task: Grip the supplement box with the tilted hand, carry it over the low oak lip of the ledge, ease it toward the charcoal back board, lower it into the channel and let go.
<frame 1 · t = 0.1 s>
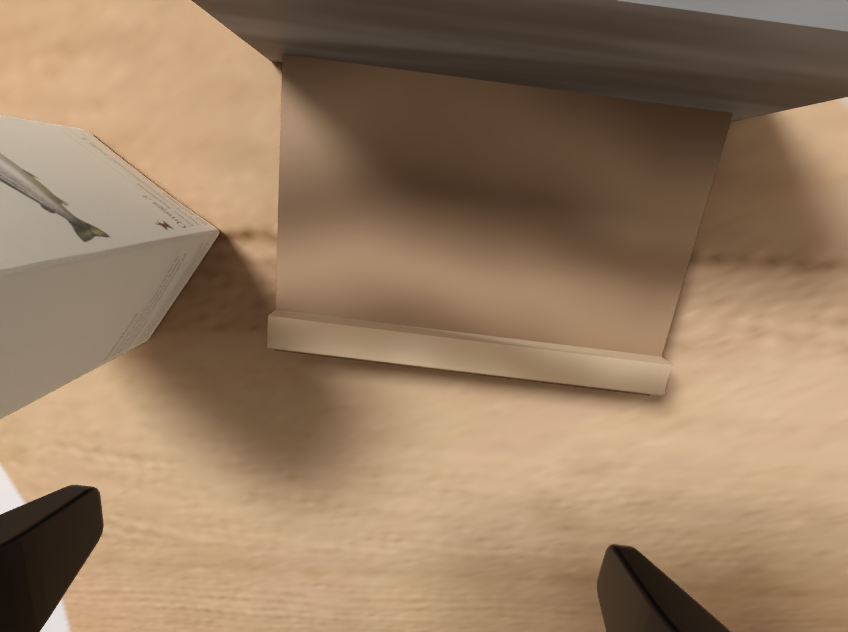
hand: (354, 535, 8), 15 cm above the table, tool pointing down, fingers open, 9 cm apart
ledge: (483, 221, 21), on the table
supplement box: (123, 240, 21), on the table
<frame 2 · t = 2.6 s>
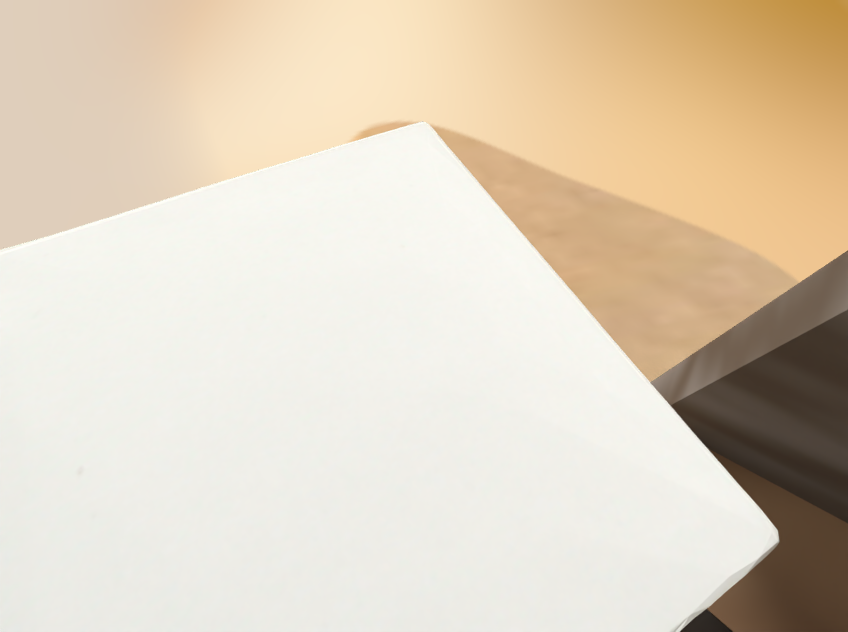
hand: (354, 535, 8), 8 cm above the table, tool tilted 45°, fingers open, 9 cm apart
supplement box: (367, 529, 15), on the table, touching gripper
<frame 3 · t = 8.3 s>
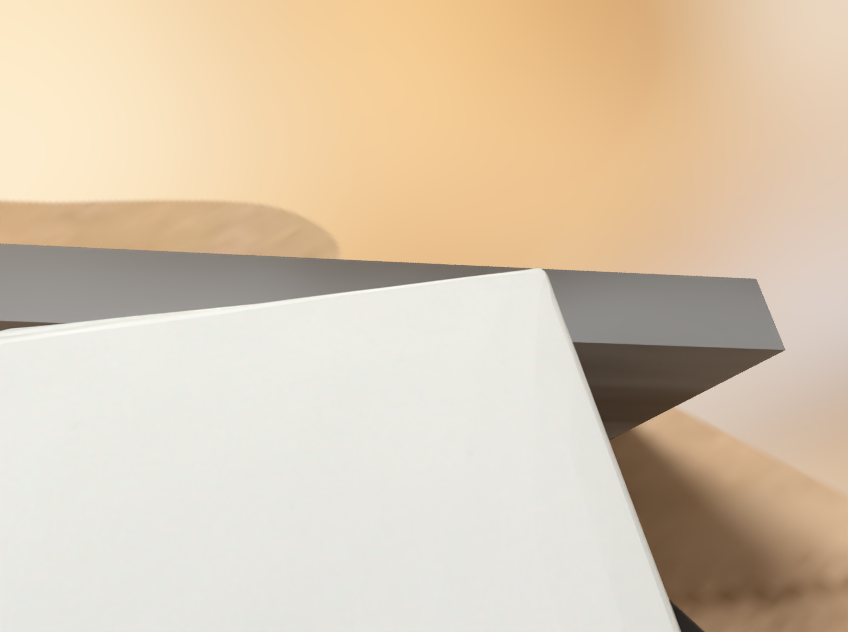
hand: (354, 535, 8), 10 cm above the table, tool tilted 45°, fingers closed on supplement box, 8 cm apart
ledge: (365, 589, 16), on the table
supplement box: (370, 576, 15), point 1 cm above the table, touching gripper, ledge
when the fingers open (10 cm above the table, at t = 8.9 s): supplement box stays where it is, resting on ledge.
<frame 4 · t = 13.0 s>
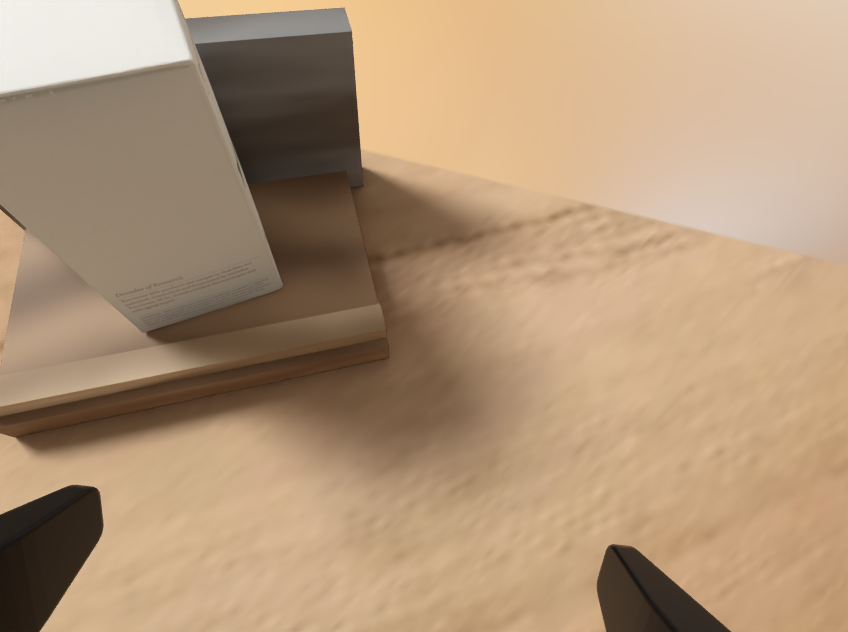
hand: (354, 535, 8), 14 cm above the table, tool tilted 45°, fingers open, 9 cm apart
ledge: (209, 280, 26), on the table
supplement box: (204, 260, 25), point 1 cm above the table, touching ledge
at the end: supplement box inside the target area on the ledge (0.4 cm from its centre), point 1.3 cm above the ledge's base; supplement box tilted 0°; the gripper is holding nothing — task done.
